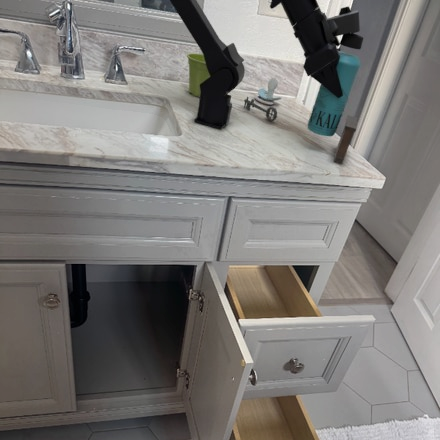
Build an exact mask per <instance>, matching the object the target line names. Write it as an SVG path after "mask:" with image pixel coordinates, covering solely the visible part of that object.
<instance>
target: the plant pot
mask: <svg viewBox="0 0 440 440" xmlns="http://www.w3.org/2000/svg"><path fill="white" fill-rule="evenodd" d="M186 58H187V63H188V93H189V94H191V95H192V96H194V97H198V98H200V93H201V91H200V84H201V83H202V82H204V81H205V80H206V79H208V78H209V77H210V75H209V72H208V70H207V67H206V63H205V59H204V55H203V53H194V52H191V53H187V54H186Z"/></svg>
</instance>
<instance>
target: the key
mask: <svg viewBox="0 0 440 440" xmlns="http://www.w3.org/2000/svg"><path fill="white" fill-rule="evenodd" d="M243 102H244V105H243V108H244V109H246V110H247V111H250V110H251V108H253V109H254V108H255V109H258V110H259V111H261V112H264V113H265V117H266V118H265V119H266V120H267V121H269V122H275V121H276V120H277V118H278V111H277V108H276V107H273V106H269V107H268V108H266V109H265V108H264V107H262V106H260V105H258V104H256V103H255V99H253V98H251V99H250V100H249V96H246V98H244V100H243Z"/></svg>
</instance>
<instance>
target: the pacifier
mask: <svg viewBox="0 0 440 440" xmlns="http://www.w3.org/2000/svg"><path fill="white" fill-rule="evenodd" d="M278 83H279V82H278V79H277V78H276V77H271V78H270V79H269V81H268V82H267V90H266V89H265V88H259V89H258V91H257V93H258V94H257V95H255V96H254V100H256V101H257V102H259V103H262V104H265V105H268V106H272V105H274V102H275V101H280V100H281V99H282V97H281V96H279V97H274V93H275V90H276V89H277V87H278Z"/></svg>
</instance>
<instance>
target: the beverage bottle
mask: <svg viewBox="0 0 440 440" xmlns="http://www.w3.org/2000/svg"><path fill="white" fill-rule="evenodd" d="M363 41H364V37H363V36H361V35H359V34H357V33H347V34H343V35H342V37H341V39H340V41H339V42H340V46H343V47H347V48H350V49H353V50H361V49H362V45H363ZM338 52H339V55H340V60H339V62H338V65H337V72H338V76H339V79H340V83H341V87H342V91H343V96H342V97H340V98H337V97H336V96H335V95H334V94H333V93H331V92H330V91H329V90H328V89H327V88H325V87H324V86H323V85H322V84H319V85H320V86H319V88H318V91H317V94H316V98H315V100H314V103H313V106H312V109H311V112H310V114H309V118H308V121H307V129H308V131H310V132H312V133H314V134H317V135H318V136H324V137H333V136H335V134H336V133H337V130H338V128H339V125H340V122H341V120H342V117H343V115H344V112H345V109H346V105H347V103H348V102H349V96H350V93H351V91H352V88H353V85H354V83H355V80H356V77H357V74H358V72H359V68H360V67H361V61H360V59H359V57H358V56H357V55H355V54H353V53H349V52H346V51H342V50H340V51H338Z"/></svg>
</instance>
